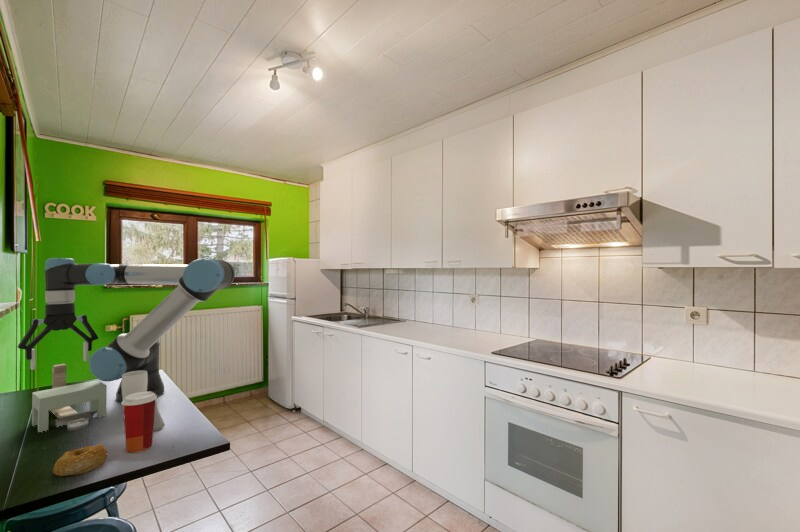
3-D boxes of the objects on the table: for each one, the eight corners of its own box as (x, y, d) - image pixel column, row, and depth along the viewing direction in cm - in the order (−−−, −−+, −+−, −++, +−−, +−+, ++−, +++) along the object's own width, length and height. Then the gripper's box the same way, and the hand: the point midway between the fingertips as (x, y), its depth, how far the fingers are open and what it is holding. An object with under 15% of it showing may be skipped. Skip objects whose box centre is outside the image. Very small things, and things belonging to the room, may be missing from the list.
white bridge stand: (31, 424, 114) (32, 392, 114) (96, 409, 127) (96, 380, 127) (39, 432, 108) (39, 398, 108) (106, 415, 121) (106, 385, 121)
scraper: (41, 413, 123) (42, 366, 123) (73, 406, 130) (73, 362, 130) (56, 427, 112) (57, 376, 112) (90, 418, 118) (90, 370, 118)
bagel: (107, 452, 96) (107, 434, 96) (107, 469, 88) (107, 449, 88) (55, 465, 90) (55, 445, 90) (50, 485, 81) (50, 463, 81)
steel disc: (91, 423, 115) (91, 416, 115) (85, 429, 110) (85, 422, 111) (70, 426, 113) (70, 419, 113) (63, 432, 108) (63, 425, 109)
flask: (152, 434, 106) (153, 400, 106) (128, 434, 106) (129, 399, 107) (169, 424, 113) (169, 392, 114) (147, 424, 114) (147, 391, 114)
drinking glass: (117, 425, 112) (117, 376, 113) (126, 417, 119) (127, 371, 119) (142, 423, 114) (142, 375, 115) (150, 415, 121) (151, 369, 121)
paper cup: (151, 438, 104) (151, 388, 104) (160, 446, 99) (161, 394, 99) (117, 449, 97) (117, 396, 98) (125, 458, 93) (126, 402, 93)
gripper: (101, 300, 138) (102, 356, 138) (5, 305, 118) (5, 371, 118) (108, 300, 134) (108, 358, 134) (9, 306, 114) (9, 374, 113)
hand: (60, 364), depth 126 cm, fingers open, 13 cm apart
